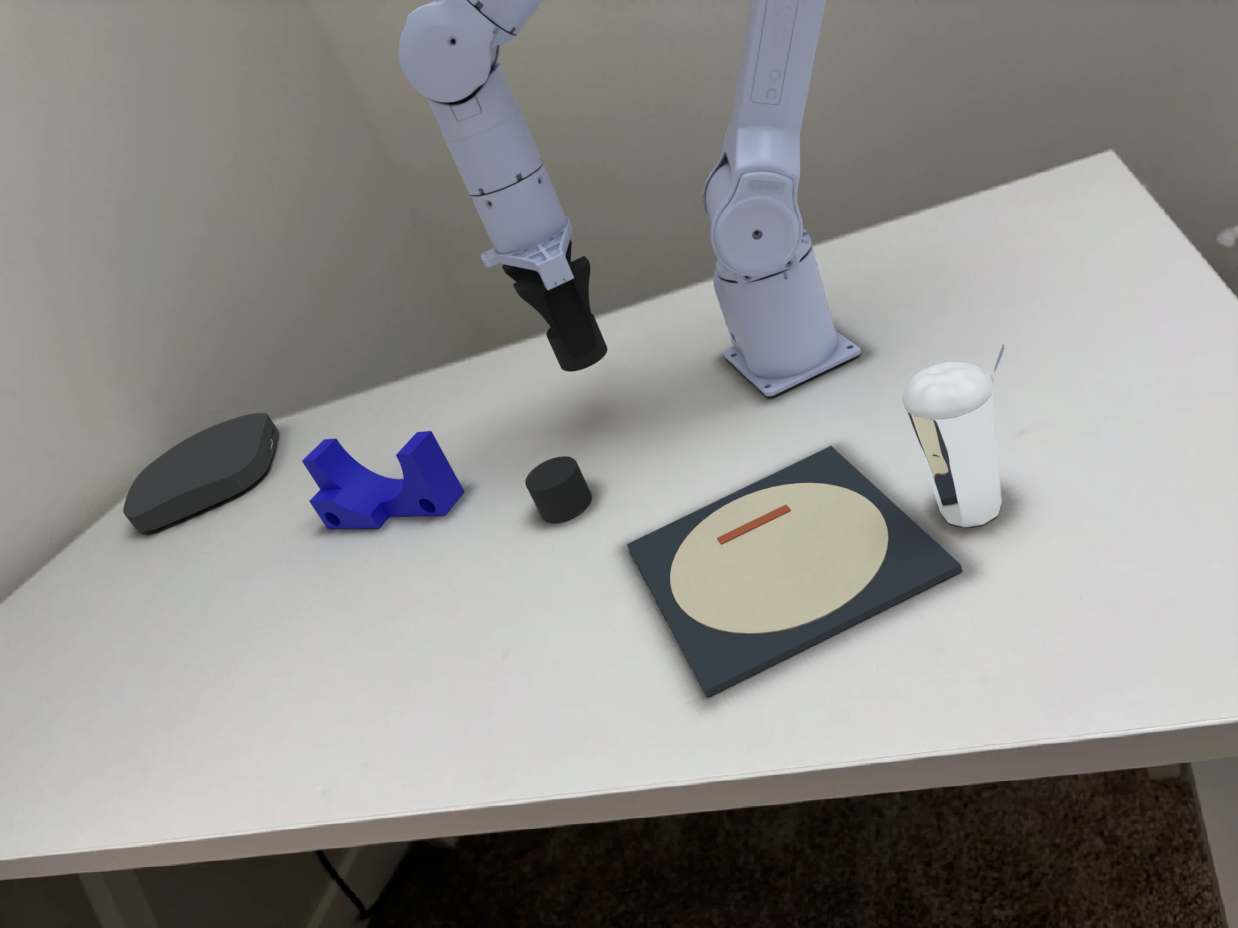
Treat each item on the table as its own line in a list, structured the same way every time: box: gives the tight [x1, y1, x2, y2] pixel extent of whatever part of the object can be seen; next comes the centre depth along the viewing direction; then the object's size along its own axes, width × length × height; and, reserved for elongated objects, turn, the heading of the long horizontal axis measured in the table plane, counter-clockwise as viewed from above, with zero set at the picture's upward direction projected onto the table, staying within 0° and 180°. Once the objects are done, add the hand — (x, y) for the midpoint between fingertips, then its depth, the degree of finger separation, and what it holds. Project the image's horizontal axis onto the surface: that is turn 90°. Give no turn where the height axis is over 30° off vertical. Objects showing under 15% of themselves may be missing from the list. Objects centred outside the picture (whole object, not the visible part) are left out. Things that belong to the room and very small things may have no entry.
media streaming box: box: [122, 412, 279, 533], centre depth 97 cm, size 15×15×3 cm
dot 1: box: [524, 455, 593, 524], centre depth 69 cm, size 4×4×3 cm
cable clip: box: [301, 430, 465, 530], centre depth 77 cm, size 12×4×6 cm, turn 65°
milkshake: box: [901, 343, 1005, 528], centre depth 51 cm, size 4×5×10 cm
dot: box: [545, 312, 608, 373], centre depth 74 cm, size 4×4×3 cm
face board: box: [626, 445, 963, 698], centre depth 56 cm, size 15×15×1 cm
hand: (577, 342), depth 74 cm, fingers closed on dot, 4 cm apart
